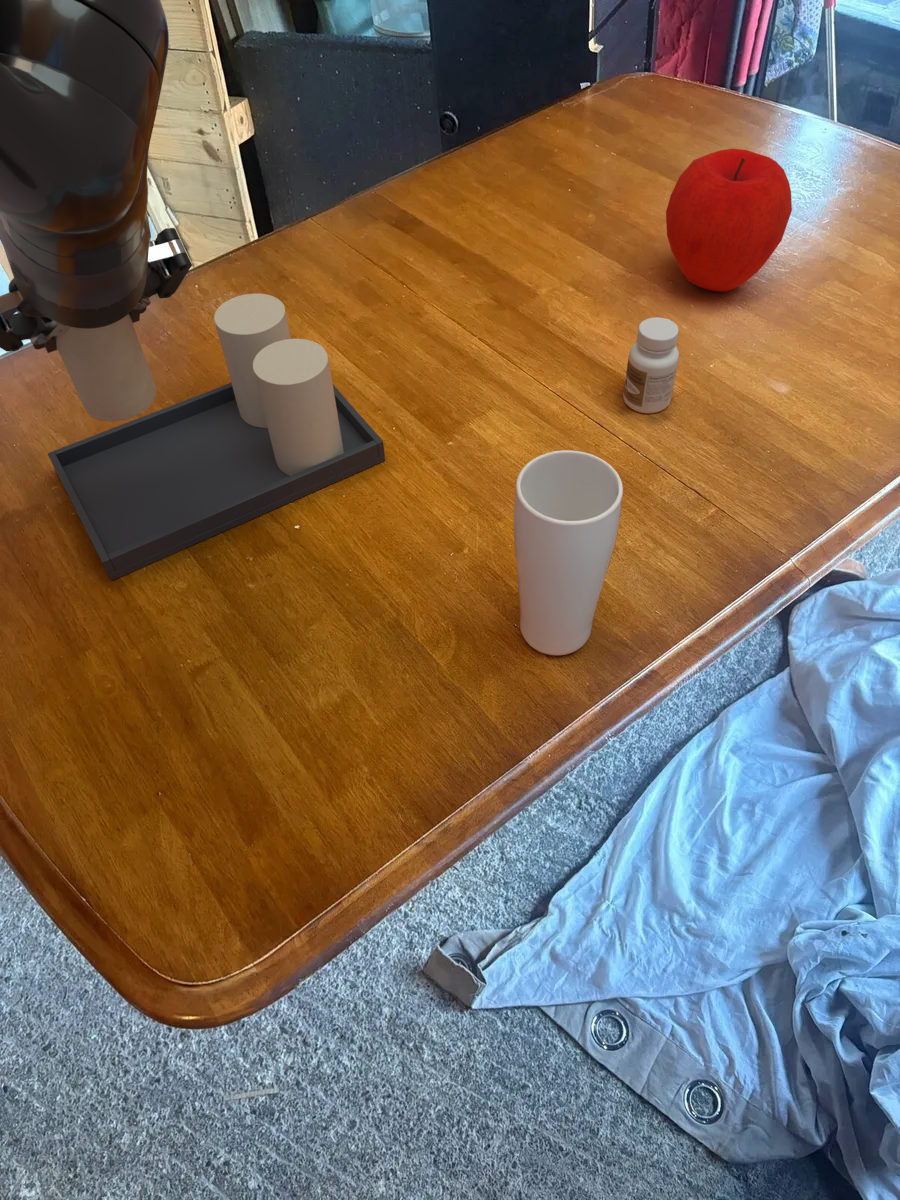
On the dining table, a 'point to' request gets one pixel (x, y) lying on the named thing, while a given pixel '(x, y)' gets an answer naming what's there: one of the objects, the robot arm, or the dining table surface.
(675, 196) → the apple
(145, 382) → the candle
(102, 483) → the tray
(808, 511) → the dining table surface
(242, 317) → the ivory candle
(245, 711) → the dining table surface
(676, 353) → the pill bottle
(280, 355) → the ivory candle
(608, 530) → the drinking glass
